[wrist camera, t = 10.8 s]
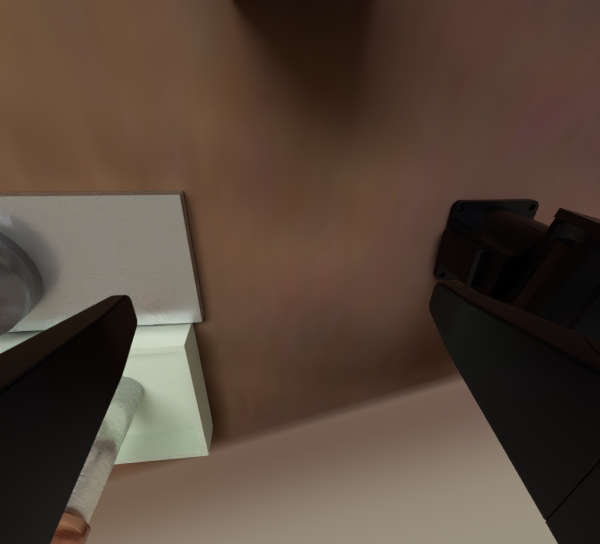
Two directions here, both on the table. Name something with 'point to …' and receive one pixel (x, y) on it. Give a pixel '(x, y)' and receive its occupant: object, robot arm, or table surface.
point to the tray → (160, 393)
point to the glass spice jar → (99, 464)
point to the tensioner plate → (95, 256)
